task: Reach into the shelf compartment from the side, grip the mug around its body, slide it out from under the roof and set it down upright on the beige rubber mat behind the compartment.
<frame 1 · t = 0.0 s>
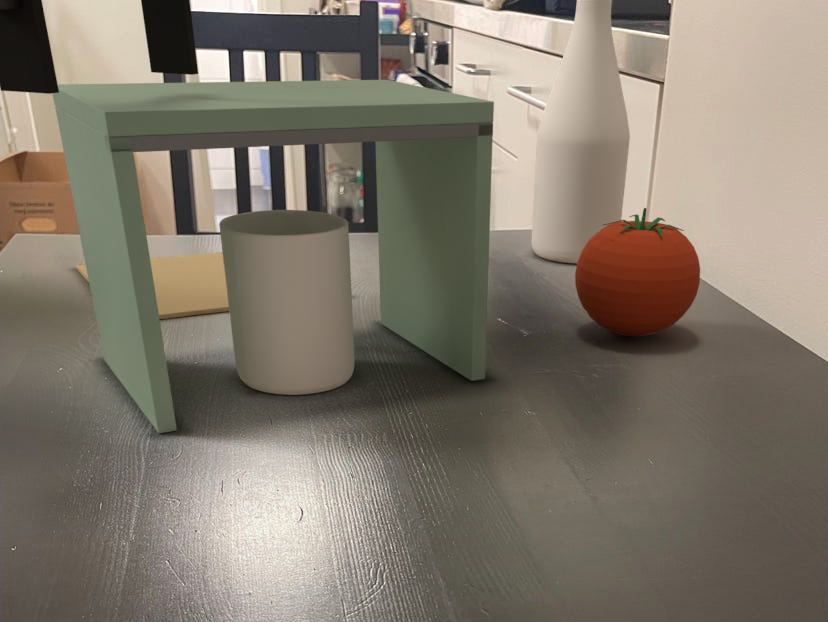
hand: (110, 82, 52), 19 cm above the table, tool pointing down, fingers open, 13 cm apart
mug: (293, 372, 73), on the table
wine bottle: (573, 257, 106), on the table
mat: (206, 283, 92), on the table
tomato: (630, 336, 82), on the table
shelf compartment: (293, 369, 73), on the table
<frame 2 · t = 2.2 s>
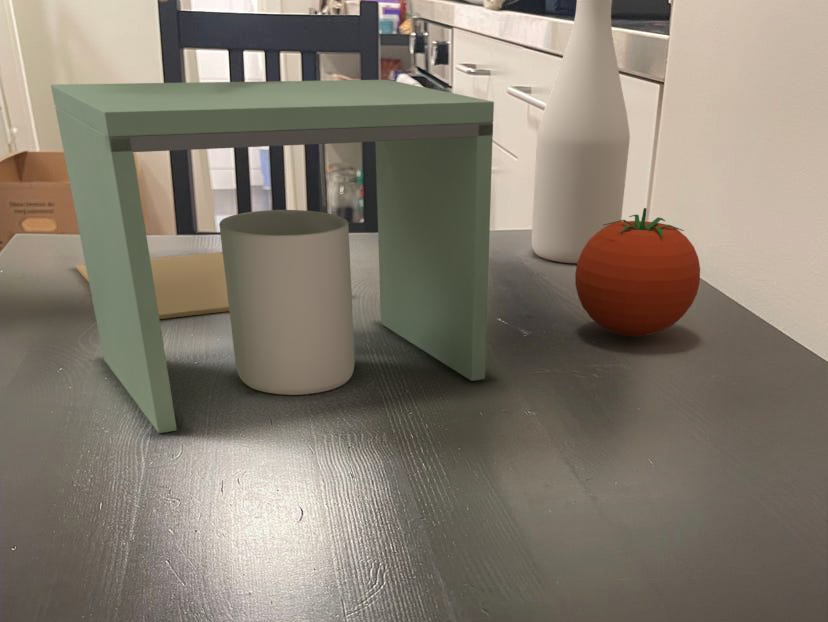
nothing on the table moved.
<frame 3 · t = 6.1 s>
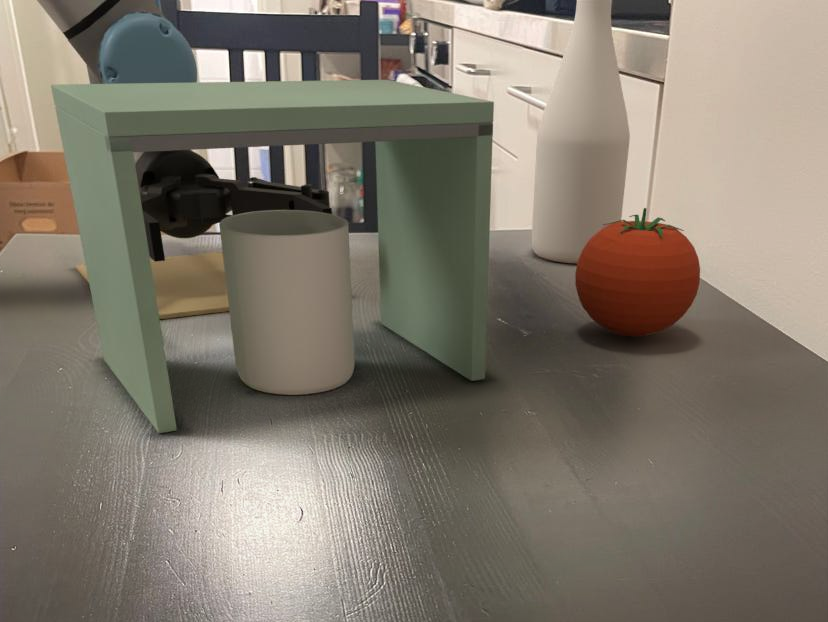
hand: (246, 234, 74), 8 cm above the table, tool horizontal, fingers open, 13 cm apart
nothing on the table moved.
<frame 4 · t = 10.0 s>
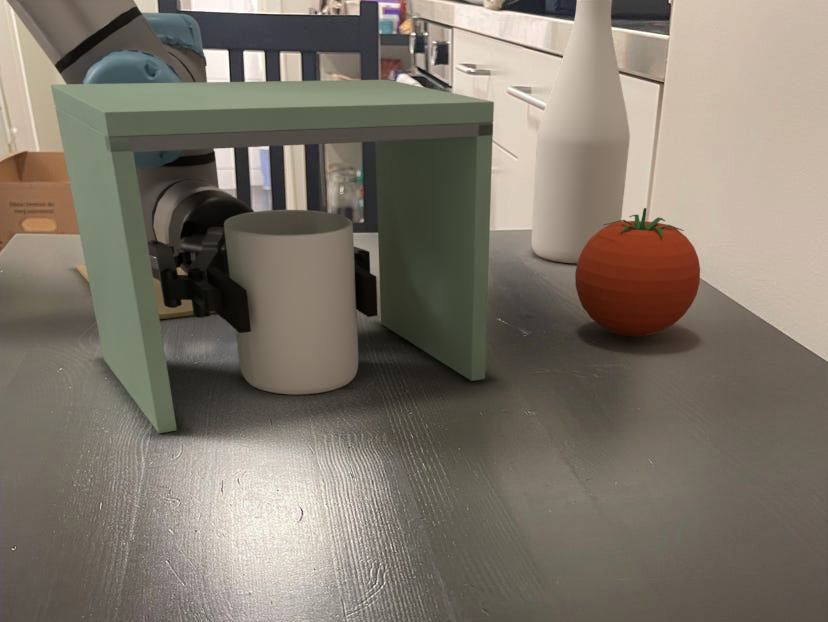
hand: (309, 304, 66), 6 cm above the table, tool horizontal, fingers closed on mug, 9 cm apart
mug: (296, 372, 73), on the table, touching gripper
everything else where it was.
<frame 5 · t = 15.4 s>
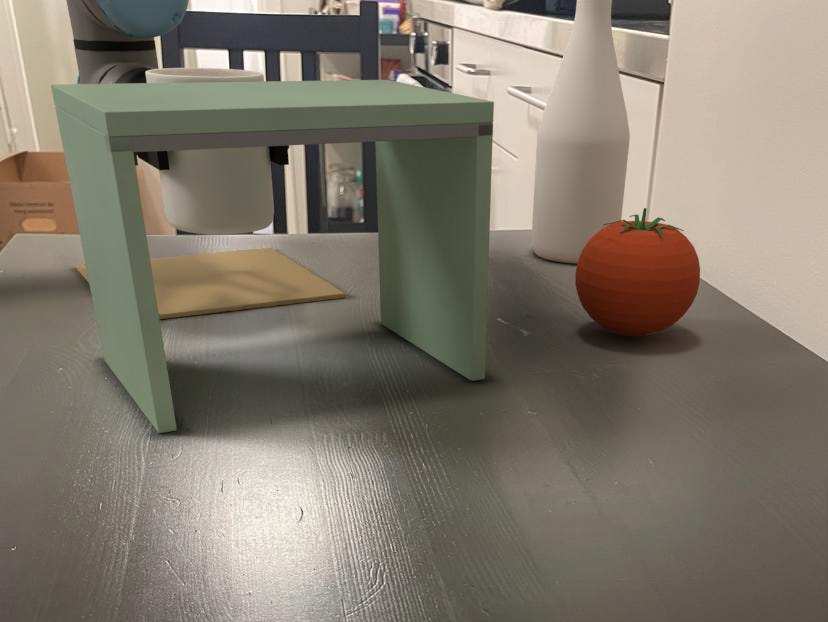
hand: (224, 147, 73), 14 cm above the table, tool horizontal, fingers closed on mug, 9 cm apart
mug: (219, 223, 80), point 7 cm above the table, touching gripper
everything else where it was.
when the fingers open (6 cm above the table, at t = 21.2 s): mug stays where it is, resting on mat.
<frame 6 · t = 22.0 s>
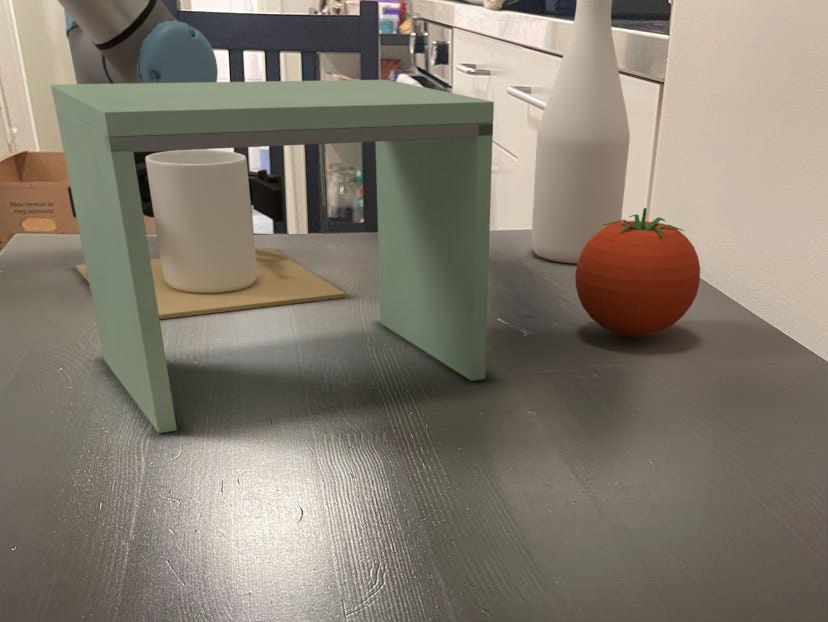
hand: (206, 210, 86), 7 cm above the table, tool horizontal, fingers open, 13 cm apart
mug: (209, 280, 92), resting on mat
everything else where it was.
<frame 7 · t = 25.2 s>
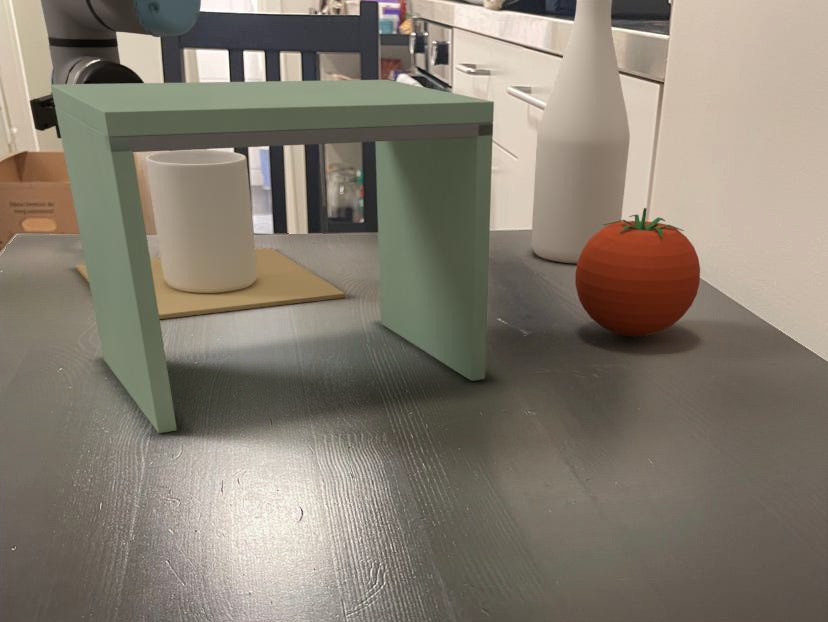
hand: (159, 121, 92), 13 cm above the table, tool horizontal, fingers open, 13 cm apart
nothing on the table moved.
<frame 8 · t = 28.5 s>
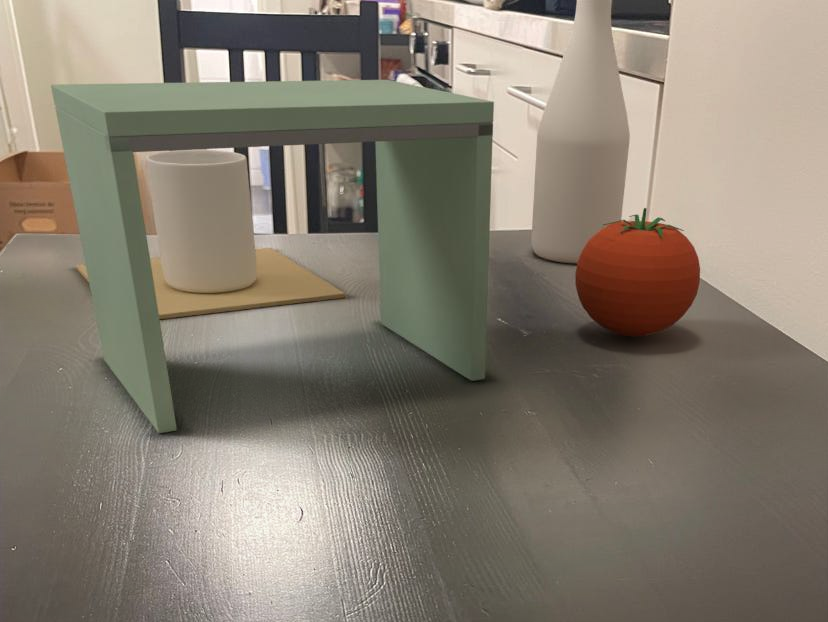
nothing on the table moved.
at the end: mug inside the target area on the mat (0.4 cm from its centre), point 0.2 cm above the mat's base; mug tilted 0°; the gripper is holding nothing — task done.
